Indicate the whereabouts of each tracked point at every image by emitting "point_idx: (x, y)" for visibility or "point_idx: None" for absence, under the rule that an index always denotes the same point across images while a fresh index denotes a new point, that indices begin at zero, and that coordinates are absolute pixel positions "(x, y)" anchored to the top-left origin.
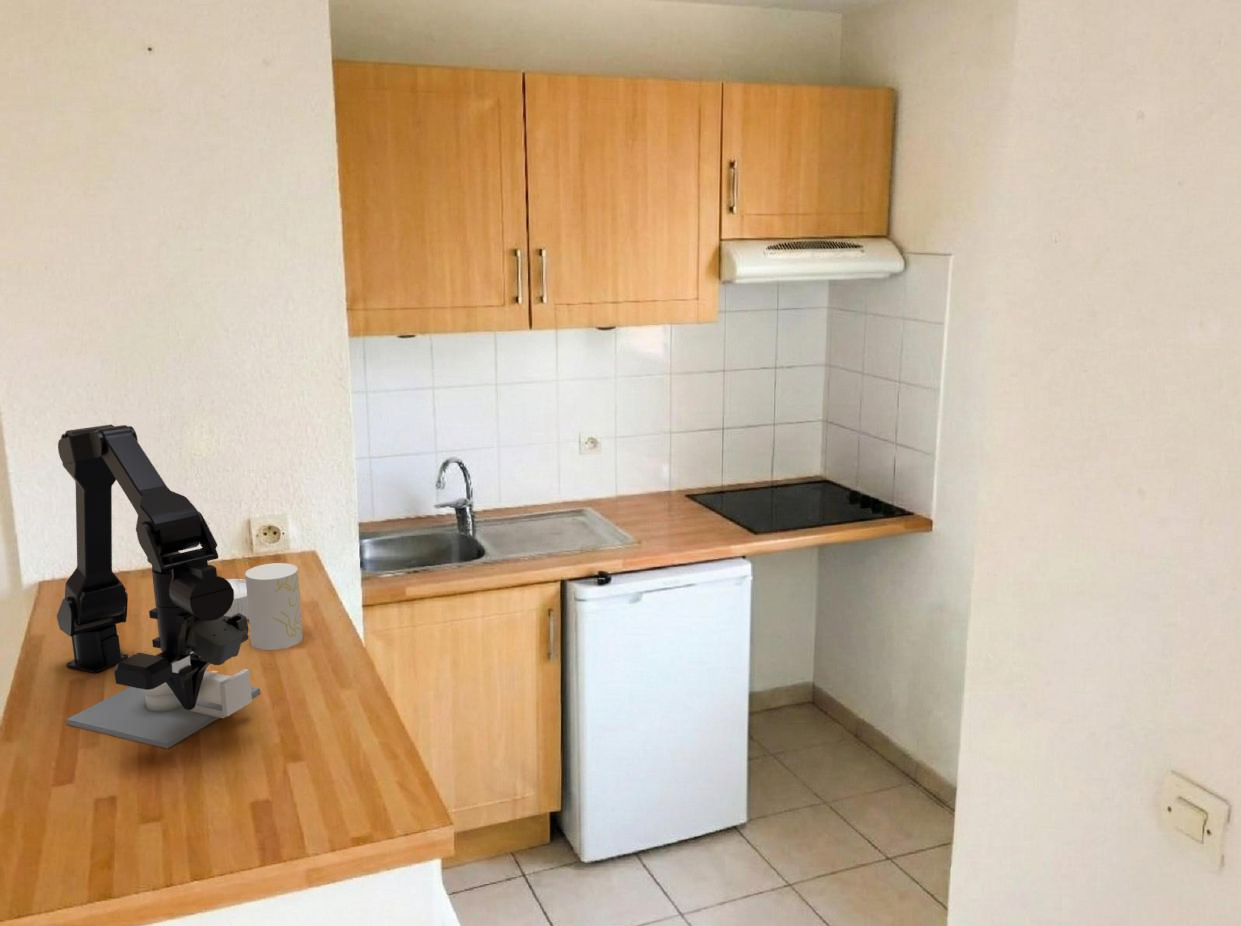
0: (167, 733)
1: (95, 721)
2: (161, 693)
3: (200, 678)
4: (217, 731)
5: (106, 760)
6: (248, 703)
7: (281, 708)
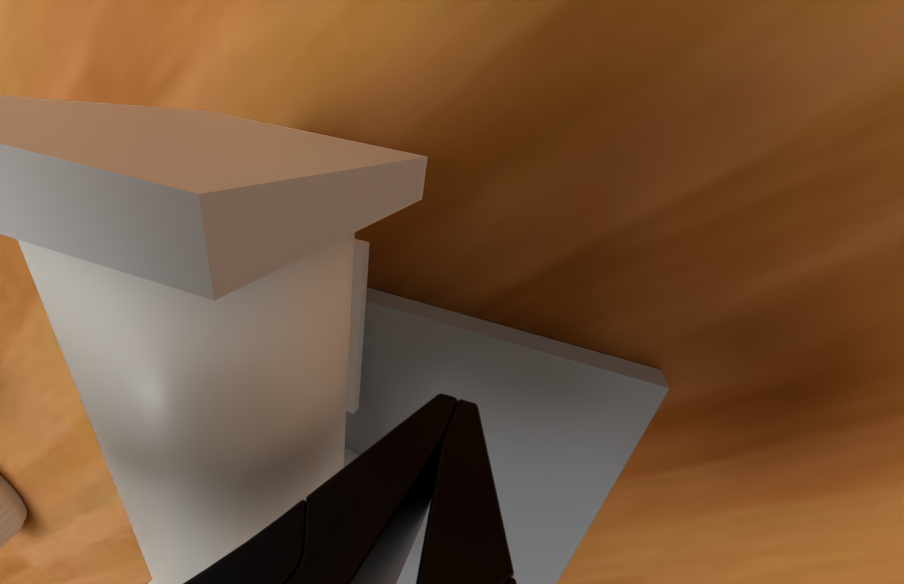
0: (562, 418)
1: None
2: None
3: (267, 577)
4: (456, 223)
5: (768, 543)
6: (236, 117)
7: (159, 19)
